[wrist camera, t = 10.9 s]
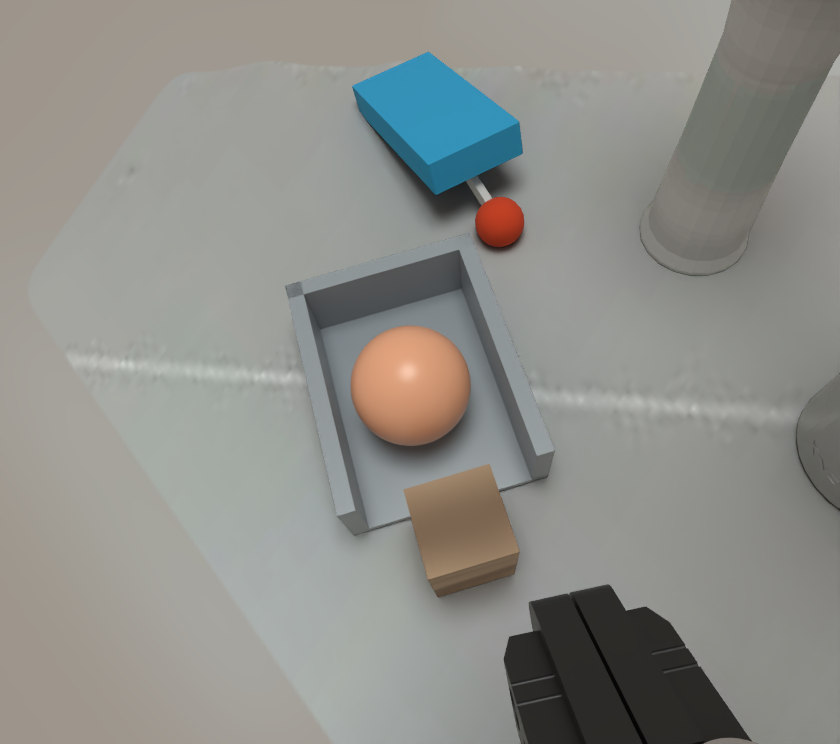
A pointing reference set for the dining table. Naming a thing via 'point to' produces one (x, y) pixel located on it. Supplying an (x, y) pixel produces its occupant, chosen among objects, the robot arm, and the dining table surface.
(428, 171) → the lever
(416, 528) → the wooden block
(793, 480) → the dining table surface
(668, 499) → the dining table surface
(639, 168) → the dining table surface
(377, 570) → the dining table surface
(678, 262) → the container
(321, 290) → the tray
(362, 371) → the ball
